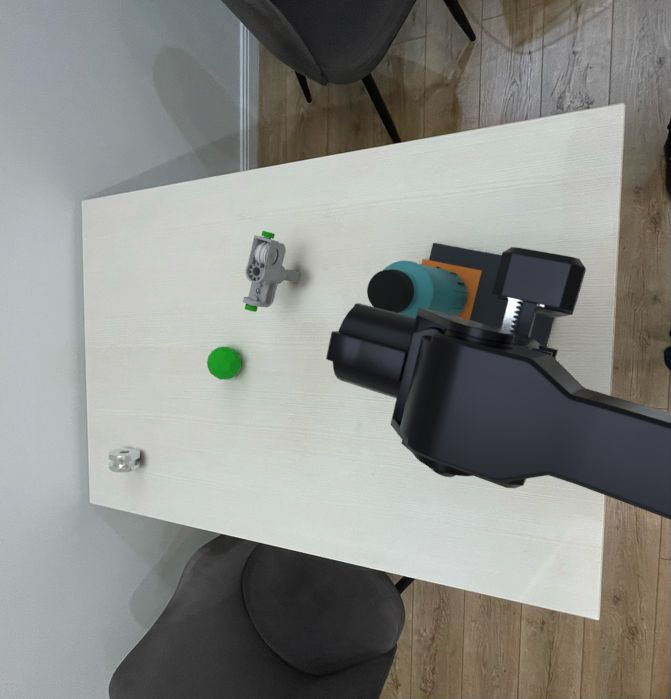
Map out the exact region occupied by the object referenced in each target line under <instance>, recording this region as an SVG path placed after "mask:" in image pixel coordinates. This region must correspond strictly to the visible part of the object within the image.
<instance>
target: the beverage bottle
mask: <svg viewBox="0 0 671 699" xmlns="http://www.w3.org/2000/svg"><path fill="white" fill-rule="evenodd" d="M424 264H425V263H424ZM435 267H436V266H435ZM435 267H431V266H427V265H423V263H422V262H421V263H418V262H415V261H412V260H398V261H395V262H393V263H390V264H389V265H387V266H386V267H385V268H384V269H382V270H380V271H378V272H376V273H375V274H374V275H373V276H372V277H371V278H370V280H369V282H368V285H367V289H366V294H367V299H368V302H369V303H370V304H371V306H372V307H376V308H380V309H384V310H388V311H392V312H396V313H400V314H404V315H408V316H412V317H416V314H417V310H418V307H420V308H425V309H429V310H434V311H438V312H442V313H446V314H450V315H454V316H458V315H459V314H460V313H461V312H462V310H463V309H465V308H464V307H465V305H467V304H466V302H467V289H468V288H466V284H465V282H464V279H463V280H462V279H461V278H460V277H459V276H458V275H457V274H458V273H457V274H456V272H455V273H453V272H451V271H447V270H445V269H444V270H443V269H439V268H440V267H437V268H435ZM448 270H449V269H448Z"/></svg>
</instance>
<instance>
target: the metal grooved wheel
mask: <svg viewBox="0 0 671 699" xmlns="http://www.w3.org/2000/svg"><path fill="white" fill-rule="evenodd" d="M140 458H141V450H140V449H138V448H134V447H122V448H116V449H111V450H110V451H109V452H108V460H109V461H110V462H108V469H109V471H111V472H114V473H120V474H121V473H130V472H134V471H137V470H138V469H139V468H140V467H141V461H140V460H138V459H140Z"/></svg>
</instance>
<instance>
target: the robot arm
mask: <svg viewBox="0 0 671 699" xmlns="http://www.w3.org/2000/svg"><path fill="white" fill-rule="evenodd" d="M501 255H502V256H501V260H500V264H499V267H498V271H497V275H496V279H495V283H494V287H493V291H492V294H495V295H498V297H497V298H498V299H500V300H503V301H506V302H508V304H507V308H506V311H505V315H504V319H503V323H502V327H501V329H499V328H495V327H492V326H488V325H485V324H482V323H478V322H475V321H471V320H468V319H464V318H461V317H458V316H454V315H450V314H446V313H442V312H438V311H434V310H429V309H425V308H420V307H418V310H417V314H416V317H412V316H408V315H404V314H400V313H396V312H392V311H388V310H384V309H380V308H376V307H373V305H367V304H363V303H359V302H358V303H355V304H354V305H353V306H352V308H351V309H350V310H349V311H348V312H347V314H346V315H345V317H344V318H343V320H342V322H341V324H340V326H339V328H338V330H335V331H333V330H332V331H331V332H330V338H329V343H328V347H327V352H326V355H325V356H326V357H325V360H327V361H330V362H332V368H333V373H334V375H335V377H336V378H337V380H339V381H341V382H344V383H347V384H350V385H353V386H356V387H359V388H362V389H366V390H369V391H372V392H375V393H378V394H381V395H384V396H386V397H387V396H388V397H391V398H393V399H395V404H394V406H393V412H392V416H391V420H390V426H391V427H392V428H393V430H394V431H395V432H396V433H397V435H398V436H399V437H400V439H401V445H403V446H404V447H405V448H406V449H407V450H408V451H409V452H411V453H412V455H413V456H414V457H415V458H416V459H417V461H419V462H420V463H421V464H423V465H425V466H427V467H428V468H429V469H430V470H432V471H433V472H434V473H435V474H436V475H440V476H442V477H446V478H453V477H456V476H457V477H476V478H478V479H481V480H484V481H487V482H490V483H492V484H494V485H497V486H500V487H503V488H506V489H518V488H520V487H523V486H524V485H525V483H526V482H527V479H533V478H539V477H545V476H549V477H552V478H556V479H559V480H561V481H564V482H567V483H571V484H574V485H577V486H579V487H581V488H582V487H583V488H585V489H587V490H590V491H592V492H595V493H598V494H601V495H603V496H605V497H609V498H611V499H613V500H616V501H619V502H621V503H624V504H628V505H630V506H633V507H636V508H638V509H641V510H643V511H646V512H649V513H652V514H654V515H657V516H660V517H662V518H665V519H668V520H670V521H671V412H668V411H665V410H662V409H658V408H654V407H652V406H648V405H645V404H640V403H637V402H633V401H631V400H626V399H624V398H620V397H616V396H613V395H610V394H606V393H603V392H599V391H596V390H593V389H589V388H587V387H585V386H583V385H582V384H581V383H580V382H579V381H578V380H577V379H576V378H575V377H574V376H573V375H572V374H571V373H570V372H569V371H568V370H567V369H566V368H565V367H564V366H563V364H561V363H560V362H559V361H558V359H557V355H558V352H559V349H558V348H553V347H549V346H547V345H546V346H542V345H540V344H539V343H538V342H537V341H535V340H534V339H532V338H530V335H531V331H532V328H533V324H534V320H535V317H536V315H539V316H544V317H548V318H554V319H555V318H561V317H566V316H572V315H573V314H574V311H575V308H576V305H577V304H578V300H579V295H580V292H581V289H582V286H583V282H584V278H585V275H586V271H587V268H586V266H585V265H584V264H583V262H582V261H581V259H580V258H577V257H574V256H569V255H564V254H557V253H552V252H547V251H546V252H545V251H542V250H534V249H528V248H523V247H515V246H511V247H509V248H508V249H505V250H504V251H502V253H501ZM518 306H520V307H521V308H522V309H521V313H520V317H519V321H518V324H517V328H516V332H515V333H512V332H510V331H511V330H515V329H514V328H513V327H512V326H514V325H516V324H515V323H514V322H513V321H517V319H516V318H515V317H514V316H518V315H519V314H517V313H515V312H516V311H520V309H518V308H517V307H518Z"/></svg>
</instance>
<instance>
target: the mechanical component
mask: <svg viewBox="0 0 671 699" xmlns="http://www.w3.org/2000/svg"><path fill="white" fill-rule="evenodd" d="M275 235H276V234H275V233H273V232H270V231H266V230H262V231H261V235H256V234H254V236H253V240H252V244H251V249H250V254H249V258H248V262H247V263H246V264H247V265H246V266H245V277H246V278H247V281H249V282H251V284H250V288H249V292H248V296H243V300H242V302H243V303H244V304H245V305H244V310H246V311H249V312H255V313H256V312H258V307H259V308H269V307H270V306H271V305H272V304H273V303H274V301H275V297H276V292H277V288H278V285H279V284H280V285H281V284H282V283H284V282H293V283H296V282H299V281H300V280H301V278H302V275H301V273H300V272H299V271H297V270H293V269H286V268H285V266H283V264H284V259H285V255H286V246H285V244H284V243H282V242H279V240H274V239H275Z"/></svg>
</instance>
